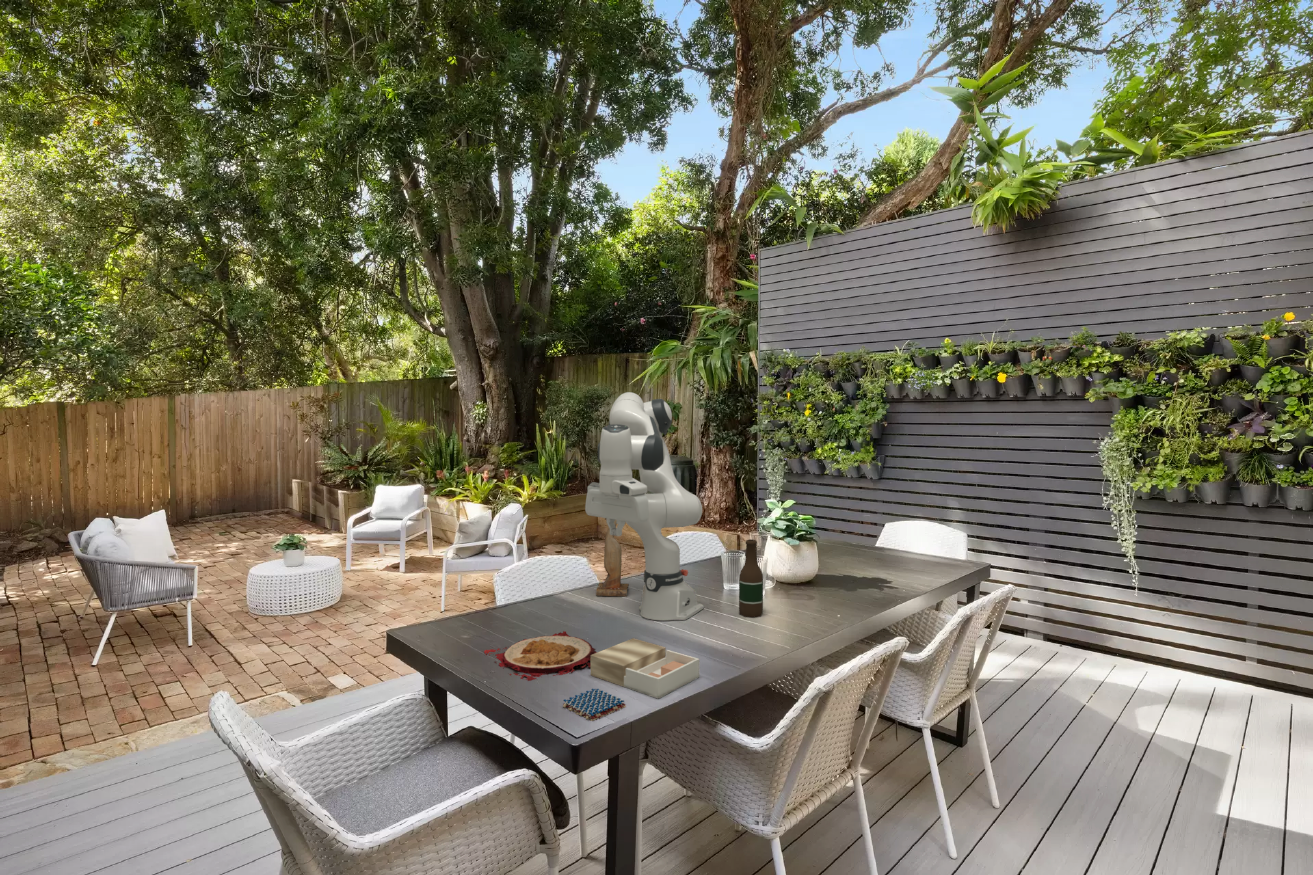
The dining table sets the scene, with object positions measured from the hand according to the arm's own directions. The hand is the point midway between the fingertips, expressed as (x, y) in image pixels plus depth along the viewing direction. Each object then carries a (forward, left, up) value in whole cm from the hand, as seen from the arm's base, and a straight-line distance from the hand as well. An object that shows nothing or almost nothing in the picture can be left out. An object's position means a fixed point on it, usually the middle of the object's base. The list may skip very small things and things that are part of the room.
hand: (615, 535), depth 181 cm
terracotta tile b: (+14, +24, -29) cm, 40 cm away
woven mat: (+29, +20, -32) cm, 48 cm away
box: (+9, +23, -31) cm, 40 cm away
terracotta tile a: (+5, +24, -29) cm, 38 cm away
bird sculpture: (-42, -40, -32) cm, 66 cm away
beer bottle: (-51, +12, -32) cm, 61 cm away
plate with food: (+16, -10, -32) cm, 38 cm away
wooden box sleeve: (+9, +13, -31) cm, 35 cm away
